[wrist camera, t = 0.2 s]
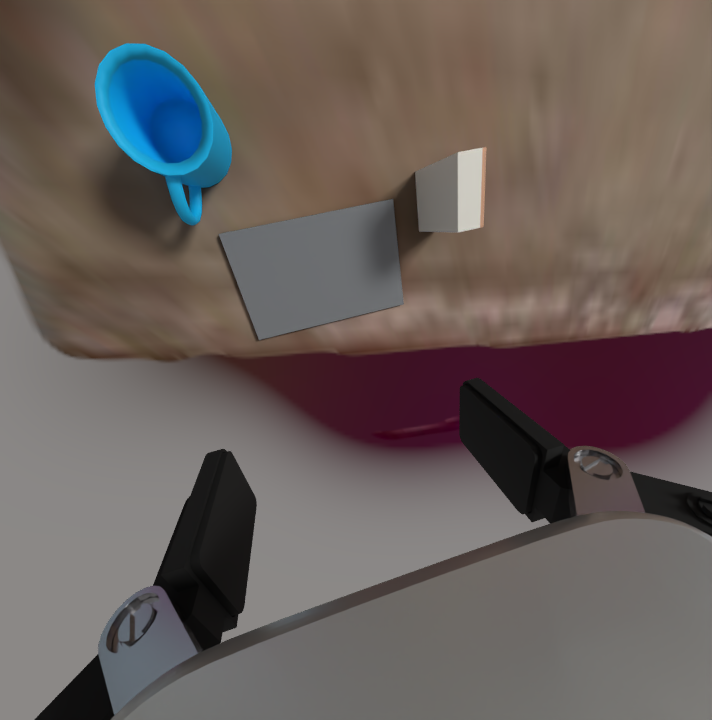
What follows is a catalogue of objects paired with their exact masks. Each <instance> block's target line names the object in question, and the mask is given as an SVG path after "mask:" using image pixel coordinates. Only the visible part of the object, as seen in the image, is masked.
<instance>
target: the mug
mask: <svg viewBox="0 0 712 720" xmlns="http://www.w3.org/2000/svg"><path fill="white" fill-rule="evenodd" d="M95 91H96V100H97V106H98V109H99V112H100V114H101V117H102V119H103V122H104V125H105V127H106V128H107V130H108V131H109V133H110V134H111V136H112V137H113V139H114V140H115V142H116V143H117V145H118V146H119V147H120V148H121V149H122V150H123V151H124V152H125V153H126V154H128V155H129V156H130V157H131V158H132V159H133V160H134V161H135V162H137V163H139V164H141V165H142V166H144V167H146V168H147V169H149V170H151V171H153V172H155V173H158V174H160V175H163V176H165V178H166V182H167V186H168V190H169V193H170V196H171V199H172V202H173V204H174V207H175V209H176V211H177V213H178V215H179V216H180V218H181V219H182V221H184V222H185V223H187V224H189V225H196V224H197V223H198V222H199V221H200V218H201V214H202V193H201V188H205V187H211V186H213V185H215V184H217V183H219V182H220V181H221V180H222V179H223V178H224V177H225V175H226V174H227V172H228V170H229V167H230V164H231V155H232V148H231V143H230V139H229V135H228V132H227V130H226V128H225V126H224V124H223V122H222V120H221V119H220V117H219V116H218V114H217V112H216V111H215V109H214V108H213V106H212V105H211V103H210V101H209V100H208V98H207V97H206V95H205V94H204V92H203V90H202V89H201V87H200V86H199V84H198V83H197V82H196V80H195V79H194V78H193V77H192V76H191V74H190V73H189V72H188V71H187V69H186V68H185V67H184V66H183V65H182V64H181V63H179V62H178V61H177V60H175V59H174V58H173V57H171V56H170V55H169V54H167V53H166V52H164V51H162V50H159V49H157V48H154V47H152V46H149V45H146V44H124V45H121V46H119V47H117V48H115V49H113V50H111V51H109V53H108V54H107V55H106V56H105V58H104V59H103V60H102V62H101V63H100V64H99V67H98V72H97V76H96V81H95ZM182 184H184V185H188V186H189V200H190V204H189V206H188V204H187V201H186V198H185V194H184V190H183V187H182Z"/></svg>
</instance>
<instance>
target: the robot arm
mask: <svg viewBox="0 0 712 720" xmlns="http://www.w3.org/2000/svg"><path fill="white" fill-rule="evenodd" d="M460 438H461V441H462V442H463V444H464V445H465V446H466V447H467V449H468V450H469V451H470V452H471V453H472V455H473V456H474V457H475V458H476V460H477V461H478V462H479V463H480V465H481V466H482V467H483V468H484V470H485V471H486V472H487V473H488V475H489V476H490V477H491V478H492V479H493V481H494V482H495V483H496V484H497V486H498V487H499V488H500V489H501V491H502V492H503V493H504V494H505V496H506V497H507V498H508V499H509V500H510V502H511V503H512V504H513V505H514V506H515V508H516V509H517V510H518V511H519V512H520V513H521V514H526V516H527V517H528V518H529V519H530V520H531V522H534V521H537V520H540V519H543V518H546V519H547V520H548V521H549V523H550V524H548V525H545V526H542V527H539V528H536V529H533V530H530V531H527V532H524V533H521V534H518V535H515V536H512V537H509V538H506V539H503V540H501V541H498V542H495V543H492V544H490V545H487V546H484V547H481V548H478V549H475V550H472V551H469V552H467V553H464V554H461V555H458V556H455V557H452V558H450V559H447V560H444V561H441V562H438V563H436V564H433V565H430V566H427V567H424V568H422V569H419V570H416V571H414V572H410V573H408V574H405V575H402V576H399V577H396V578H394V579H391V580H388V581H385V582H382V583H380V584H377V585H374V586H371V587H369V588H366V589H363V590H360V591H357V592H355V593H352V594H349V595H347V596H344V597H341V598H338V599H335V600H333V601H330V602H327V603H325V604H322V605H319V606H316V607H314V608H311V609H308V610H305V611H303V612H300V613H297V614H295V615H292V616H289V617H286V618H283V619H281V620H278V621H276V622H273V623H270V624H268V625H265V626H263V627H260V628H257V629H255V630H252V631H250V632H247V633H245V634H242V635H239V636H237V637H234V638H231V639H229V640H227V641H224V642H222V643H221V637H222V632H225V631H228V630H231V629H233V628H236V627H237V620H238V614H240V613H242V611H243V609H244V604H245V596H246V588H247V580H248V571H249V563H250V554H251V547H252V539H253V530H254V523H255V514H256V506H257V505H256V498H255V495H254V493H253V492H252V490H251V488H250V486H249V484H248V482H247V480H246V478H245V477H244V475H243V473H242V471H241V469H240V467H239V465H238V463H237V462H236V459H235V458H234V456H233V454H232V452H231V451H228V452H227V451H226V450H225V449H221V450H217V451H214V452H210V453H208V454H207V455H206V456H205V458H204V461H203V464H202V467H201V469H200V472H199V474H198V477H197V480H196V482H195V485H194V488H193V491H192V493H191V496H190V497H189V498H188V499H187V500H186V502H185V504H184V507H183V509H182V512H181V515H180V517H179V520H178V522H177V525H176V528H175V530H174V533H173V535H172V538H171V540H170V543H169V546H168V548H167V551H166V553H165V556H164V559H163V561H162V564H161V566H160V569H159V571H158V574H157V577H156V579H155V582H154V584H153V586H150V587H146V588H144V589H142V590H140V591H138V592H136V593H135V594H133V595H132V596H131V597H130V598H128V599H127V600H126V601H125V602H124V603H123V604H122V605H121V606H120V607H119V608H118V609H117V610H116V612H115V613H114V614H113V616H112V617H111V618H110V620H109V621H108V623H107V625H106V627H105V628H104V630H103V633H102V634H101V638H100V641H99V644H98V655H97V656H96V657H95V658H94V659H93V660H92V661H91V662H90V663H89V664H88V665H87V666H86V667H85V668H84V669H83V670H82V671H81V672H80V673H79V674H78V675H77V676H76V677H75V678H74V679H73V681H72V682H71V683H70V684H69V685H68V686H67V687H66V688H65V689H64V690H63V691H62V692H61V693H60V694H59V695H58V696H57V697H56V698H55V699H54V700H53V701H52V702H51V703H50V704H49V705H48V706H47V707H46V708H45V709H44V710H43V711H42V712H41V713H40V714H39V716H38V717H37V718H36V719H35V720H712V492H709V491H705V490H701V489H697V488H693V487H689V486H685V485H681V484H677V483H673V482H669V481H665V480H661V479H657V478H653V477H649V476H645V475H641V474H637V473H633V472H630V471H629V469H628V467H627V466H626V464H625V463H624V462H623V461H622V460H620V459H619V458H618V457H616V456H615V455H613V454H611V453H609V452H607V451H604V450H602V449H599V448H595V447H589V446H580V447H575V448H573V449H571V450H569V449H568V448H567V447H566V446H564V444H563V443H561V442H560V441H559V440H557V439H556V438H555V437H554V436H552V435H551V434H550V433H549V432H547V431H546V430H545V429H543V428H542V427H541V426H540V425H538V424H537V423H536V422H534V421H533V420H532V419H531V418H529V417H528V416H527V415H526V414H524V413H523V412H522V411H521V410H519V409H518V408H517V407H515V406H514V405H513V404H512V403H510V402H509V401H508V400H506V399H505V398H504V397H503V396H501V395H500V394H499V393H498V392H496V391H495V390H494V389H492V388H491V387H490V386H488V385H487V384H486V383H485V382H484V381H482V380H481V379H479V378H475V379H471V380H468V381H465V382H464V383H463V386H461V387H460Z"/></svg>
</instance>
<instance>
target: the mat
mask: <svg viewBox="0 0 712 720" xmlns="http://www.w3.org/2000/svg"><path fill="white" fill-rule="evenodd" d="M219 236H220V239H221V242H222V244H223V247H224V249H225V252H226V255H227V257H228V260H229V263H230V265H231V268H232V270H233V273H234V276H235V278H236V281H237V284H238V286H239V289H240V291H241V294H242V297H243V299H244V302H245V305H246V307H247V310H248V312H249V315H250V318H251V320H252V323H253V325H254V328H255V331H256V333H257V336H258V339H259V340H261V339H265V338H269V337H273V336H277V335H281V334H285V333H289V332H293V331H297V330H301V329H305V328H309V327H314V326H318V325H322V324H326V323H330V322H334V321H338V320H342V319H346V318H350V317H354V316H358V315H362V314H366V313H370V312H374V311H378V310H382V309H386V308H390V307H394V306H398V305H402V304H404V303H403V293H402V283H401V273H400V264H399V254H398V244H397V234H396V224H395V214H394V204H393V199H390V200H385V201H380V202H376V203H371V204H366V205H361V206H356V207H351V208H346V209H341V210H336V211H331V212H326V213H321V214H316V215H311V216H306V217H301V218H296V219H291V220H286V221H281V222H276V223H271V224H267V225H262V226H257V227H252V228H247V229H242V230H237V231H232V232H227V233H222V234H219Z"/></svg>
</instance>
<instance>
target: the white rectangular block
mask: <svg viewBox="0 0 712 720" xmlns="http://www.w3.org/2000/svg"><path fill="white" fill-rule="evenodd" d="M485 171H486V147H484V148H478V149H473V150H468V151H462V152H457V153H455V154H453V155H451V156H449V157H446V158H444V159H442V160H440V161H438V162H435V163H433V164H431V165H429V166H427V167H424V168H422V169H420V170H418V171H416V172H415V179H416V194H417V210H418V225H419V232H462V231H467V230H471V229H476V228H480V227H483V226H484V198H485Z"/></svg>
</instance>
